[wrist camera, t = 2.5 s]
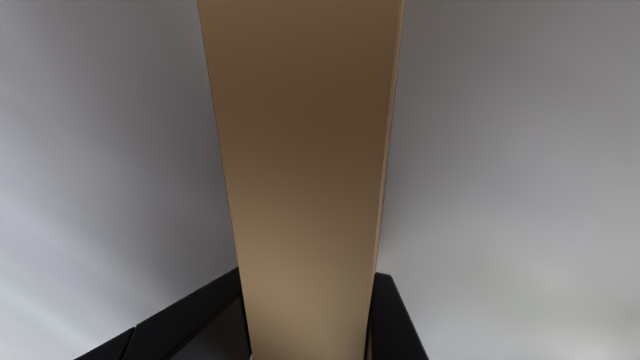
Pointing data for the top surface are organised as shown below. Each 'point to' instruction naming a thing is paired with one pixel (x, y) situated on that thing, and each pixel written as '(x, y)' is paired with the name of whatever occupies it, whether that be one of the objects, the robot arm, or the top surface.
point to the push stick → (304, 161)
